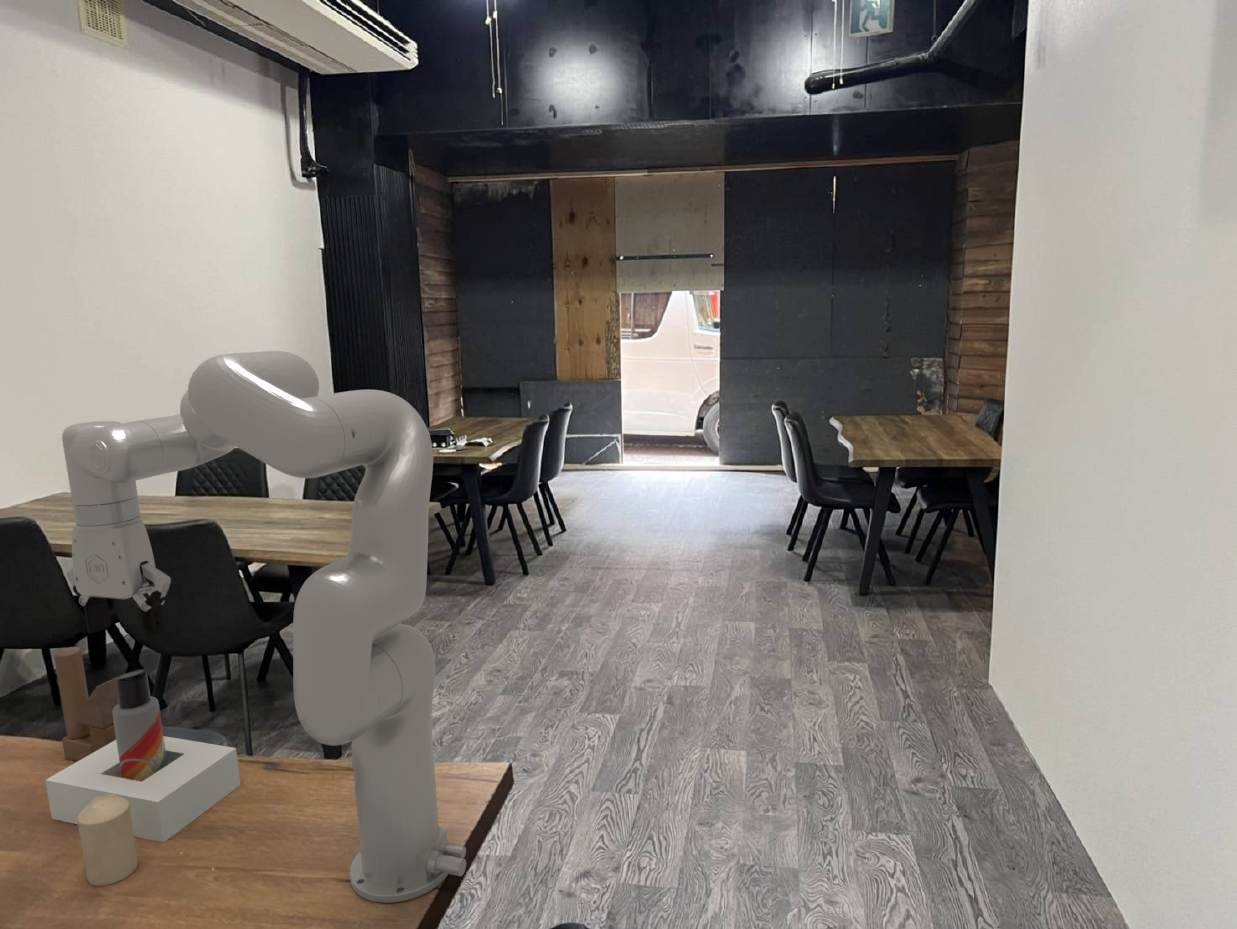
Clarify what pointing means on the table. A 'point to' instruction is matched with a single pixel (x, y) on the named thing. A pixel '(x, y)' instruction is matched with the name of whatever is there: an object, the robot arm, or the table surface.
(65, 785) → the bottle caddy
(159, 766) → the lotion bottle
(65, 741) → the brown block with handle
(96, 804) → the candle
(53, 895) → the table surface
